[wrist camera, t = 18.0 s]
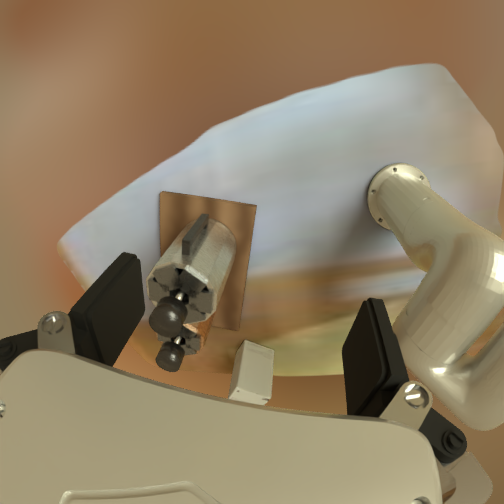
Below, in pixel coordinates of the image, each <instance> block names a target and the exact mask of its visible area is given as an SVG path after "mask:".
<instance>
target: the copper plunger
mask: <svg viewBox="0 0 504 504" xmlns="http://www.w3.org/2000/svg"><path fill="white" fill-rule="evenodd" d="M181 339H182V336H181V335H179V334H178V335H177V337H176V339H175V341H174V342H170V341H167V342H164V343H163V345H162V347H161V349H160V351H159V353H158V355H157V357H156V363H157V365H158V366H159V367H161V368H162V369H164V370H166V371H169V372H176V371H178V370H179V368H180V365H181V363H182V360H183V358H184V355H185V351H184V349H183V348H182V347H181V346H180V345H179V343H180V341H181Z"/></svg>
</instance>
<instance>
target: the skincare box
mask: <svg viewBox="0 0 504 504" xmlns="http://www.w3.org/2000/svg"><path fill="white" fill-rule="evenodd" d="M273 362H274V350H272V349H269V348H266V347H264V346H261V345H258V344H256V343H253V342H250V341H248V340H244V342H243V343H242V345H241V346H240V348H239V349H238V351H237V352H236V356H235V362H234V367H233V373H232V379H231V384H230V390H229V396H228V399H231V400H236V401H241V402H247V403H252V404H258V405H264V404H266V403H267V402H268V400H269V399H270V398H271V394H272V378H273Z"/></svg>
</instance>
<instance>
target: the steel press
mask: <svg viewBox="0 0 504 504" xmlns="http://www.w3.org/2000/svg"><path fill="white" fill-rule="evenodd" d="M236 249H237V245H236V240H235V237H234V235H233V233H232V232H231V230H230V229H229V228H228V227H227V226H226V225H224V224H223V223H221V222H219V221H217V220H215V219H211V218H209V214H203V213H202V214H201V215H200V217H199V218H198V219H196V220H194V221H192V222H190V223H189V224H187V225H186V226H185V228H184V229H183V230H182V231H181V233H180V234H179V235H178V236H177V238H176V239H175V240H174V241H173V243H172V244H171V245H170V247H169V248H168V249H167V250H166V252H165V253H164V254H163V256H162V257H161V258H160V260H159V261H158V262H157V264H156V265H155V266H154V268H153V269H152V271H151V272H150V274H149V275H148V277H147V279H146V285H147V295H148V296H149V299H150V300H151V301H152V302H153V304H154V305H155V307H156V305H157V304H158V302H159V301H160V299H161V298H163V297H166V296H171V297H176V295H177V293H178V291H179V290H180V289H181V290H182V291H184V292H185V294H184V296H183V298H182V300H181V301H182V302H183V303H184V304H185V306H186V307H187V310H188V315H187V317H186V319H185V322H184V323H185V324H192V323H197V322H202V321H206V320H207V319H208V318H209V317H210V316H211V315H212V314H213V313H214V312H215V311H216V309H217V306H218V304H219V301H220V298H221V295H222V292H223V290H224V287H225V284H226V281H227V279H228V276H229V273H230V271H231V268H232V265H233V262H234V260H235V254H236Z"/></svg>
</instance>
